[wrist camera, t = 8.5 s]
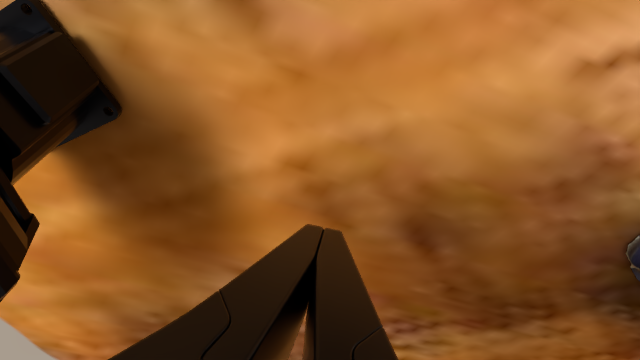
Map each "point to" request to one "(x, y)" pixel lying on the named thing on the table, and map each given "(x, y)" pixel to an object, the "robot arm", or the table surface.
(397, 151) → the table surface
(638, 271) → the flask
